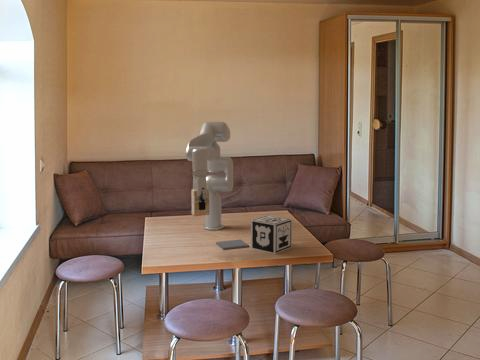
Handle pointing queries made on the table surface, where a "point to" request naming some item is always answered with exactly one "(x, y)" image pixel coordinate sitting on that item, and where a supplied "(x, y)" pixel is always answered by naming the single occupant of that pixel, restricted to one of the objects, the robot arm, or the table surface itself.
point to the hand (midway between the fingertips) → (200, 208)
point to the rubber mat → (232, 244)
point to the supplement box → (196, 204)
